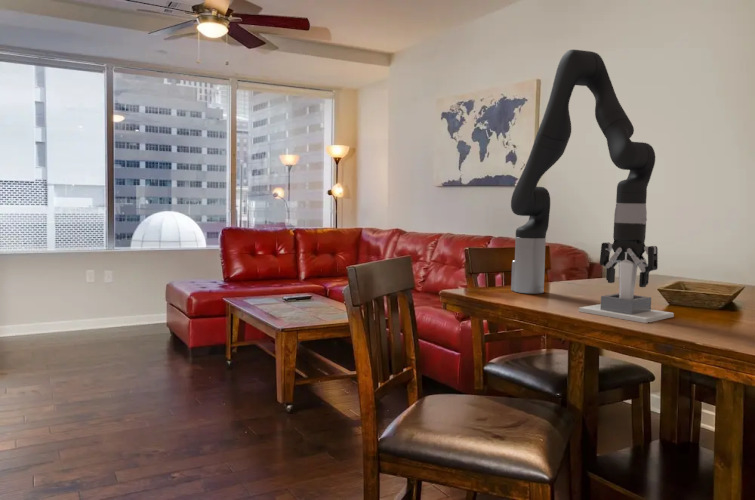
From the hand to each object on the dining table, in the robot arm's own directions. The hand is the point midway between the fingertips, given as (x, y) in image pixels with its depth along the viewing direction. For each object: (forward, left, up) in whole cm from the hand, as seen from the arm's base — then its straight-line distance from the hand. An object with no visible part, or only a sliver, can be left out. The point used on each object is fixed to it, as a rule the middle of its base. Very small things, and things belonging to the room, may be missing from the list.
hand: (626, 284), depth 152 cm
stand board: (0, 0, -8) cm, 8 cm away
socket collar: (0, 0, -8) cm, 8 cm away
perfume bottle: (0, 0, -7) cm, 7 cm away
